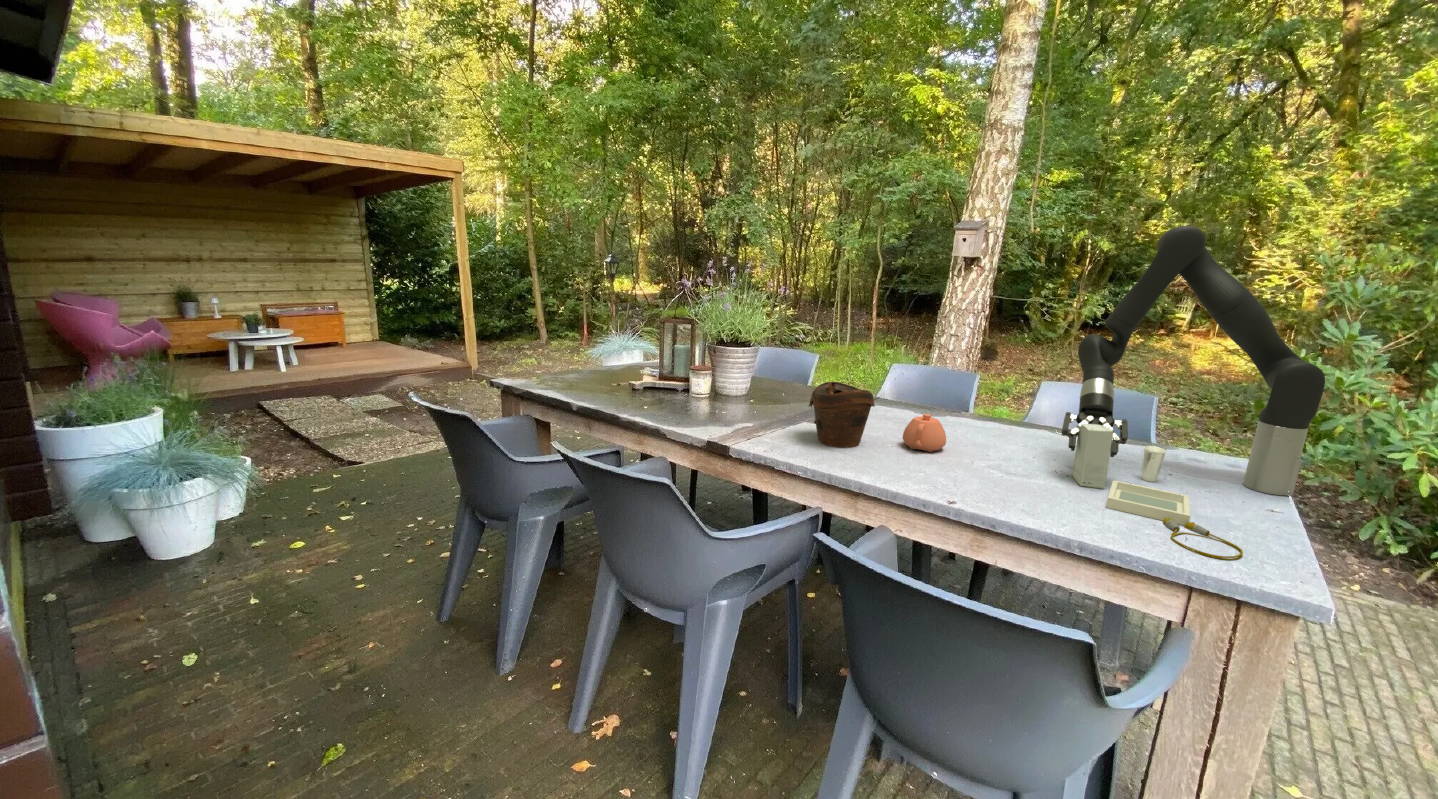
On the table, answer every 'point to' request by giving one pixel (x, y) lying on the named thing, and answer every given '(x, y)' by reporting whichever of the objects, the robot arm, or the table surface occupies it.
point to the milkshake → (1152, 462)
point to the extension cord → (1203, 531)
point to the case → (840, 413)
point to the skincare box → (1092, 455)
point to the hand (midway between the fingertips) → (1092, 452)
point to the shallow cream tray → (1149, 502)
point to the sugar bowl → (924, 434)
